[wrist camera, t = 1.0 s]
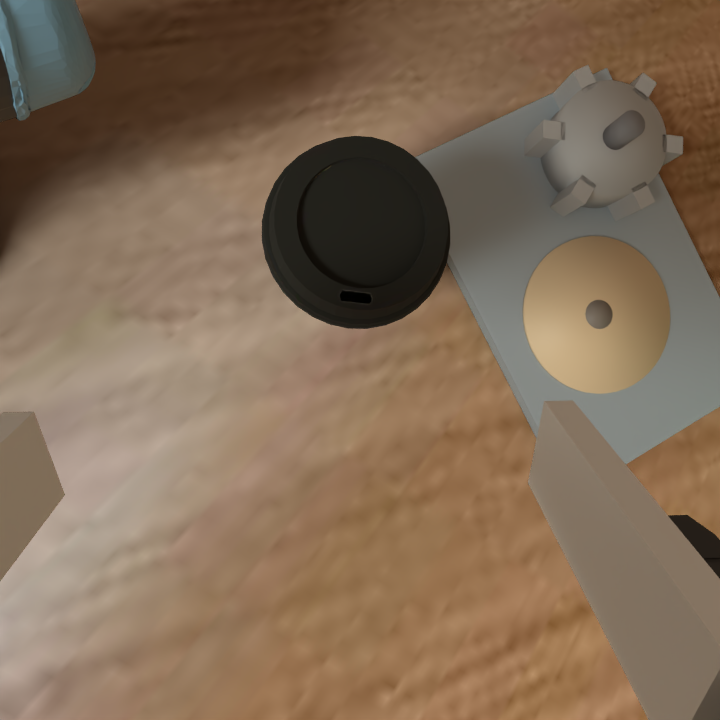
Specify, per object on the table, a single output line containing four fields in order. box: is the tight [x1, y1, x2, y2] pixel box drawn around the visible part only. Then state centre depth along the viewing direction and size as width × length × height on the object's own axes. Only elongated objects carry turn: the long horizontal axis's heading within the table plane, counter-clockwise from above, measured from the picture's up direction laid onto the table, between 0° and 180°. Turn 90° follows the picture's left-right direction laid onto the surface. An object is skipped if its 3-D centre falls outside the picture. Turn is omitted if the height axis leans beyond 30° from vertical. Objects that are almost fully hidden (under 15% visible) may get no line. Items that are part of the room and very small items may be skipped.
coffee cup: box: [262, 136, 450, 329], centre depth 30 cm, size 10×10×15 cm
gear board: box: [415, 65, 720, 464], centre depth 37 cm, size 30×20×6 cm
